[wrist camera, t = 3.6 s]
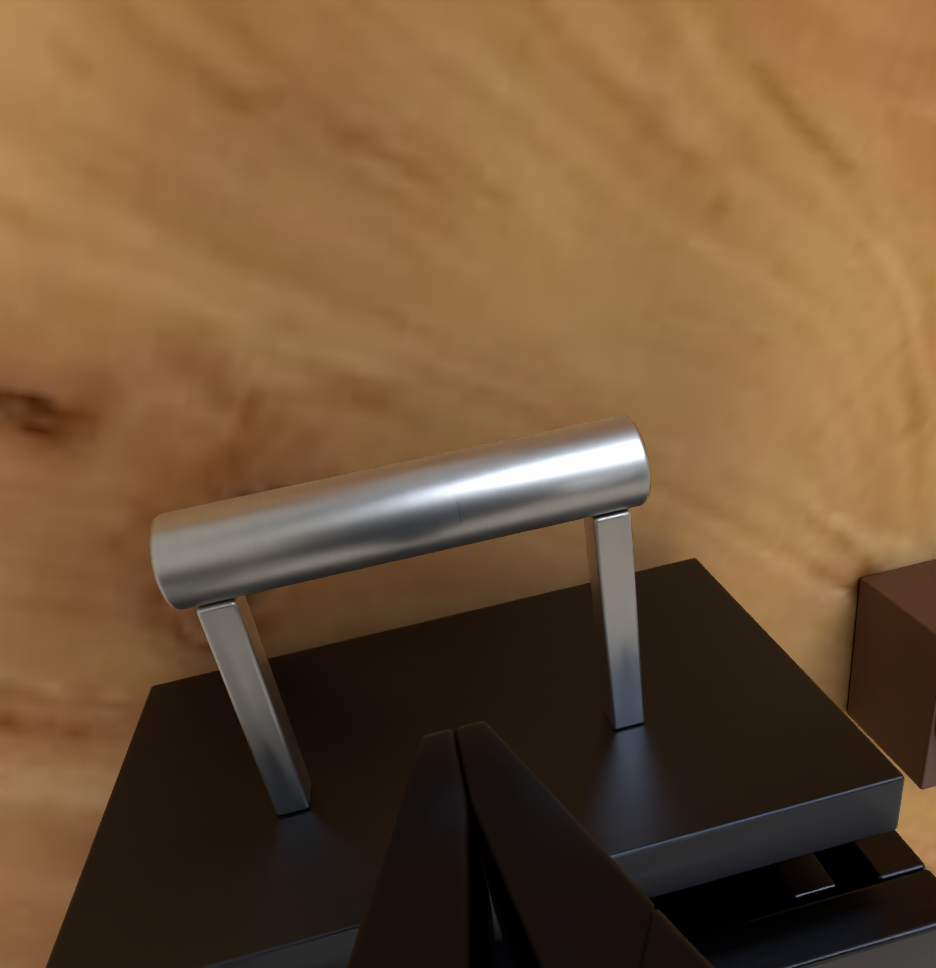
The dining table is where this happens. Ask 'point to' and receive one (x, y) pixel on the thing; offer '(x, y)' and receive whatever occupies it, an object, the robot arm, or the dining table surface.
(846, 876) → the cabinet
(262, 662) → the drawer
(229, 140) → the dining table surface
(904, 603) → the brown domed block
